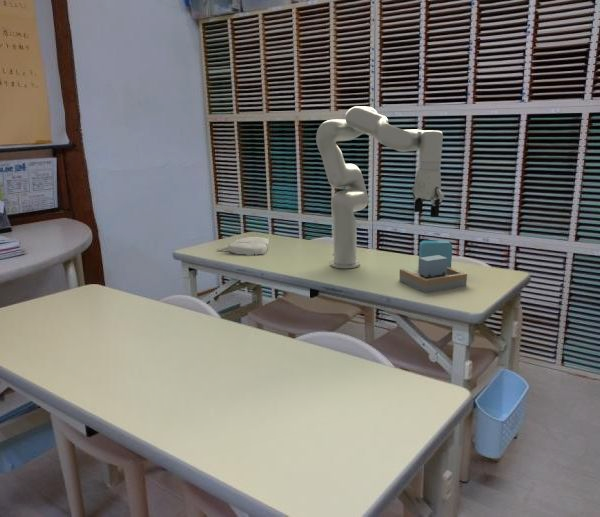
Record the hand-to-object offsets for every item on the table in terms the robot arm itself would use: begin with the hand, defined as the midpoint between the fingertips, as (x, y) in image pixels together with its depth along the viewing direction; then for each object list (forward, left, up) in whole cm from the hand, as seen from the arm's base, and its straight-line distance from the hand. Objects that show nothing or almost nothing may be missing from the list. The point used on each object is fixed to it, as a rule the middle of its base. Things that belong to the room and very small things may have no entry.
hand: (426, 214), depth 181 cm
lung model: (-78, -48, -26) cm, 95 cm away
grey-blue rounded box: (+4, +1, -23) cm, 23 cm away
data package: (-9, +12, -26) cm, 30 cm away
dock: (+4, +1, -26) cm, 26 cm away
